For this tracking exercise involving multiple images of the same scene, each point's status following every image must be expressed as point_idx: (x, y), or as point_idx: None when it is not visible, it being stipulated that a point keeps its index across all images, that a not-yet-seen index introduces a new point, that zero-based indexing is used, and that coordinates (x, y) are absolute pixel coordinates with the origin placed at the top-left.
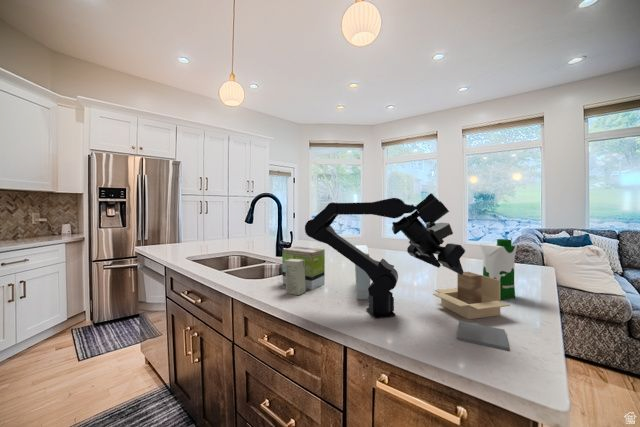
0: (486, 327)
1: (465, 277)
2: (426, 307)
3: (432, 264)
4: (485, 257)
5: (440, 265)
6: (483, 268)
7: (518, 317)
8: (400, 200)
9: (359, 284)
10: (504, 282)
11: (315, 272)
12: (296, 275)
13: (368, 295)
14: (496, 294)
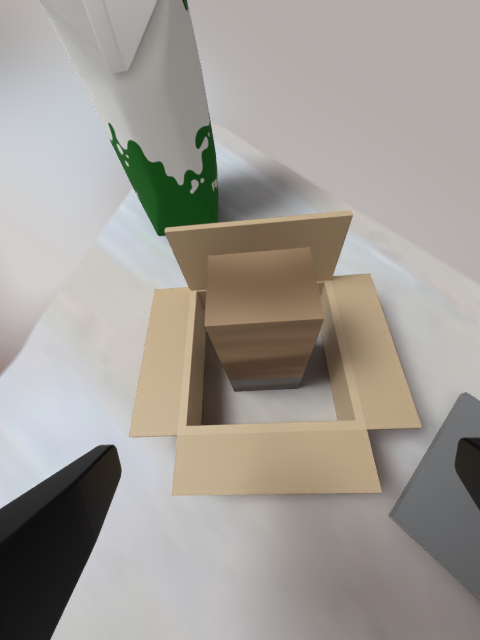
0: (454, 445)
1: (279, 330)
2: (190, 537)
3: (65, 599)
4: (115, 89)
5: (115, 450)
6: (125, 150)
7: (342, 272)
8: None
9: None
10: (211, 169)
11: None
12: None
13: None
14: (324, 266)
